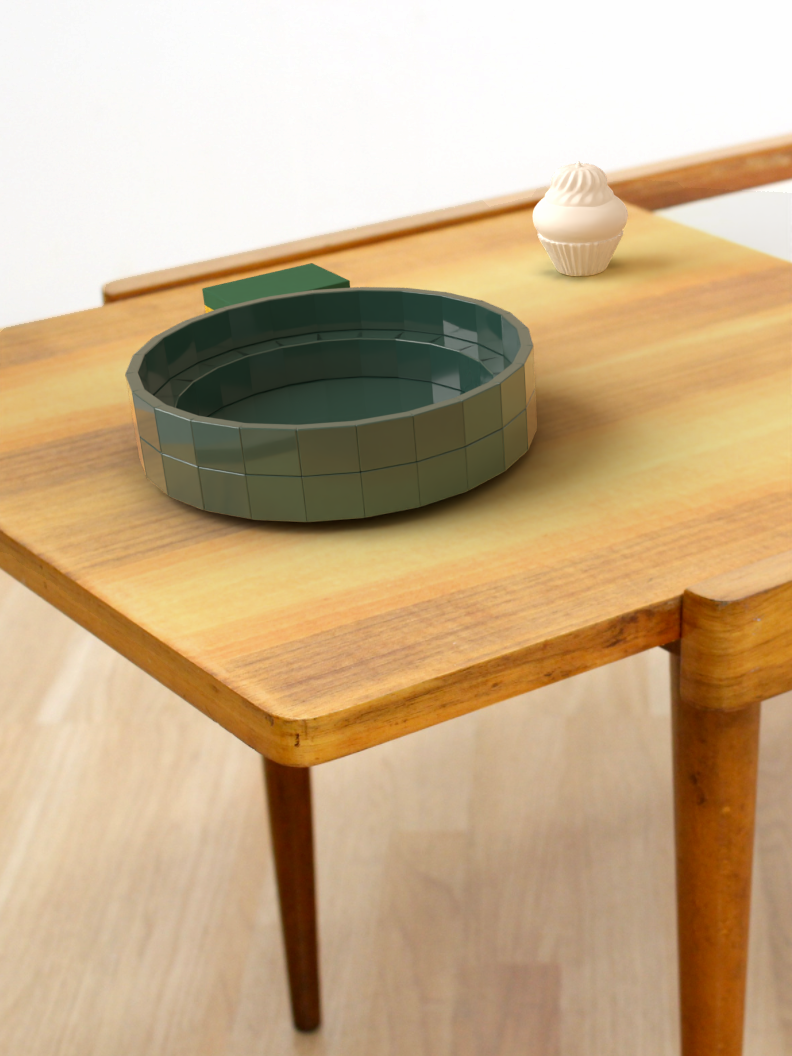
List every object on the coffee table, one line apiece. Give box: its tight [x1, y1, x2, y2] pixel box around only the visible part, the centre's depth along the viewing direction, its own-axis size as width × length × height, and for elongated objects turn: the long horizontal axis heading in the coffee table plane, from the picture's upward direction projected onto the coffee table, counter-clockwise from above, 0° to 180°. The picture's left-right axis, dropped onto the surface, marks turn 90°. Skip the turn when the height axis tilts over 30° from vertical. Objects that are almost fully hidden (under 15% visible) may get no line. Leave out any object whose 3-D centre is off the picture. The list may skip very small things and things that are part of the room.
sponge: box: [201, 262, 351, 313], centre depth 88 cm, size 7×4×4 cm, turn 126°
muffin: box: [532, 160, 629, 277], centre depth 99 cm, size 6×6×7 cm
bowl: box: [125, 286, 538, 523], centre depth 75 cm, size 19×19×5 cm
